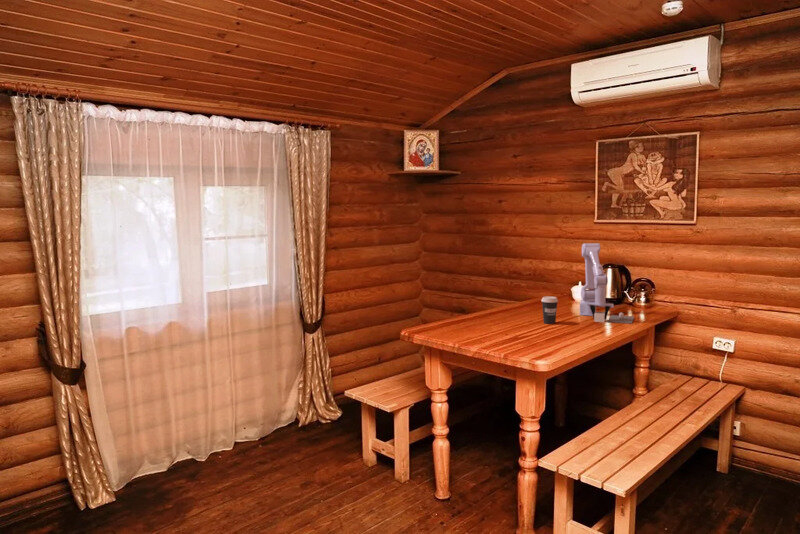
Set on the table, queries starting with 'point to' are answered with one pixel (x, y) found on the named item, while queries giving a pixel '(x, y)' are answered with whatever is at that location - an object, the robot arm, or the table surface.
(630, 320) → the duct board
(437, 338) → the table surface
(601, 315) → the collar
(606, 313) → the robot arm
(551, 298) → the coffee cup
